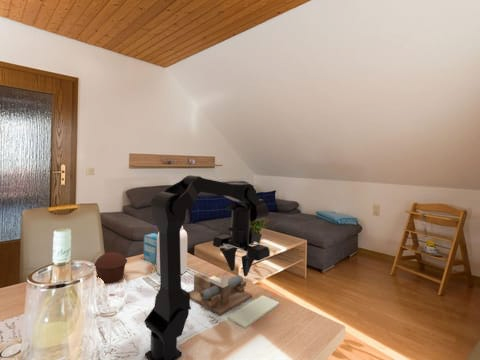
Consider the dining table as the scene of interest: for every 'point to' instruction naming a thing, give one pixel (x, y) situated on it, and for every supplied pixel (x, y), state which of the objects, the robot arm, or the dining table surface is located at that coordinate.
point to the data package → (150, 248)
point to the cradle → (221, 301)
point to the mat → (253, 311)
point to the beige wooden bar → (219, 281)
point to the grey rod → (217, 289)
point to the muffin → (110, 267)
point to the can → (182, 251)
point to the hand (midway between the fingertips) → (239, 273)
